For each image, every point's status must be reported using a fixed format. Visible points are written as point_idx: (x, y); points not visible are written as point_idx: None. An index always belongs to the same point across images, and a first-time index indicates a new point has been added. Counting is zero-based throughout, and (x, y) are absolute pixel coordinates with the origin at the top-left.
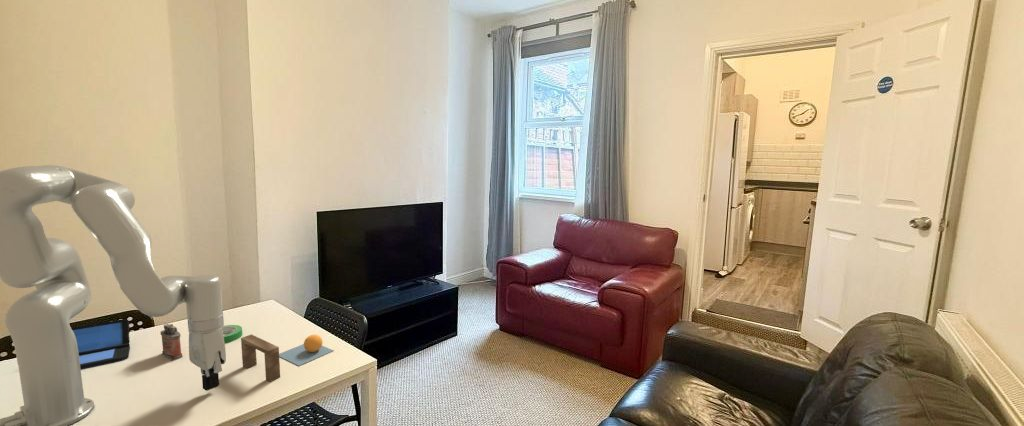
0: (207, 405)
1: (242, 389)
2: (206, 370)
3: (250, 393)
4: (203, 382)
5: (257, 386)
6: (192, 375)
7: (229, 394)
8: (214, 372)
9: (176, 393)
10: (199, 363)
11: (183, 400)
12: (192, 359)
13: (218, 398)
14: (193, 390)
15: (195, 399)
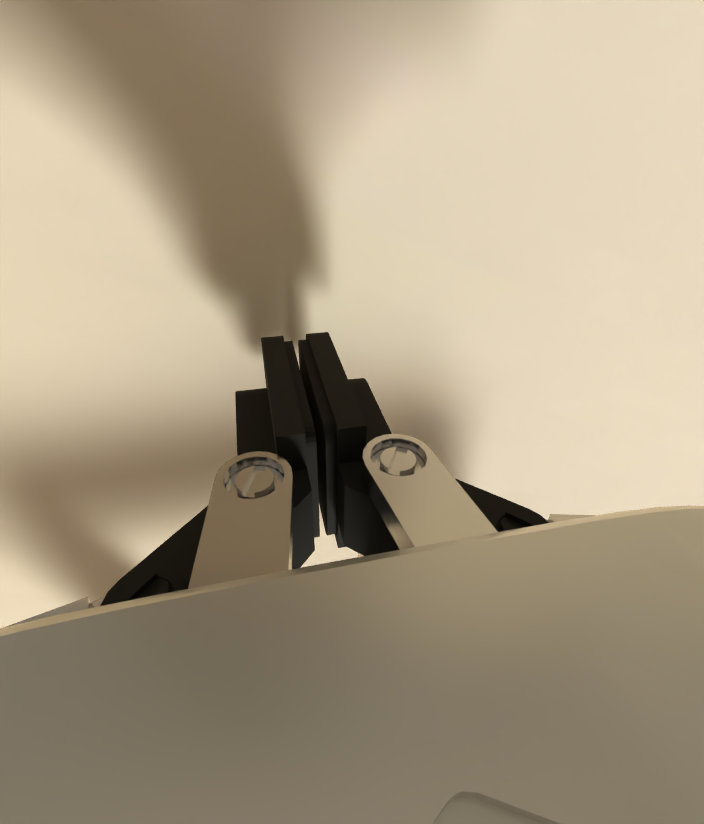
0: (39, 250)
1: (149, 511)
2: (234, 554)
3: (29, 533)
4: (319, 375)
5: (117, 575)
6: (676, 349)
7: (136, 438)
8: (47, 616)
9: (564, 145)
10: (209, 747)
11: (366, 125)
12: (694, 616)
13: (127, 363)
14: (467, 273)
15: (282, 219)
